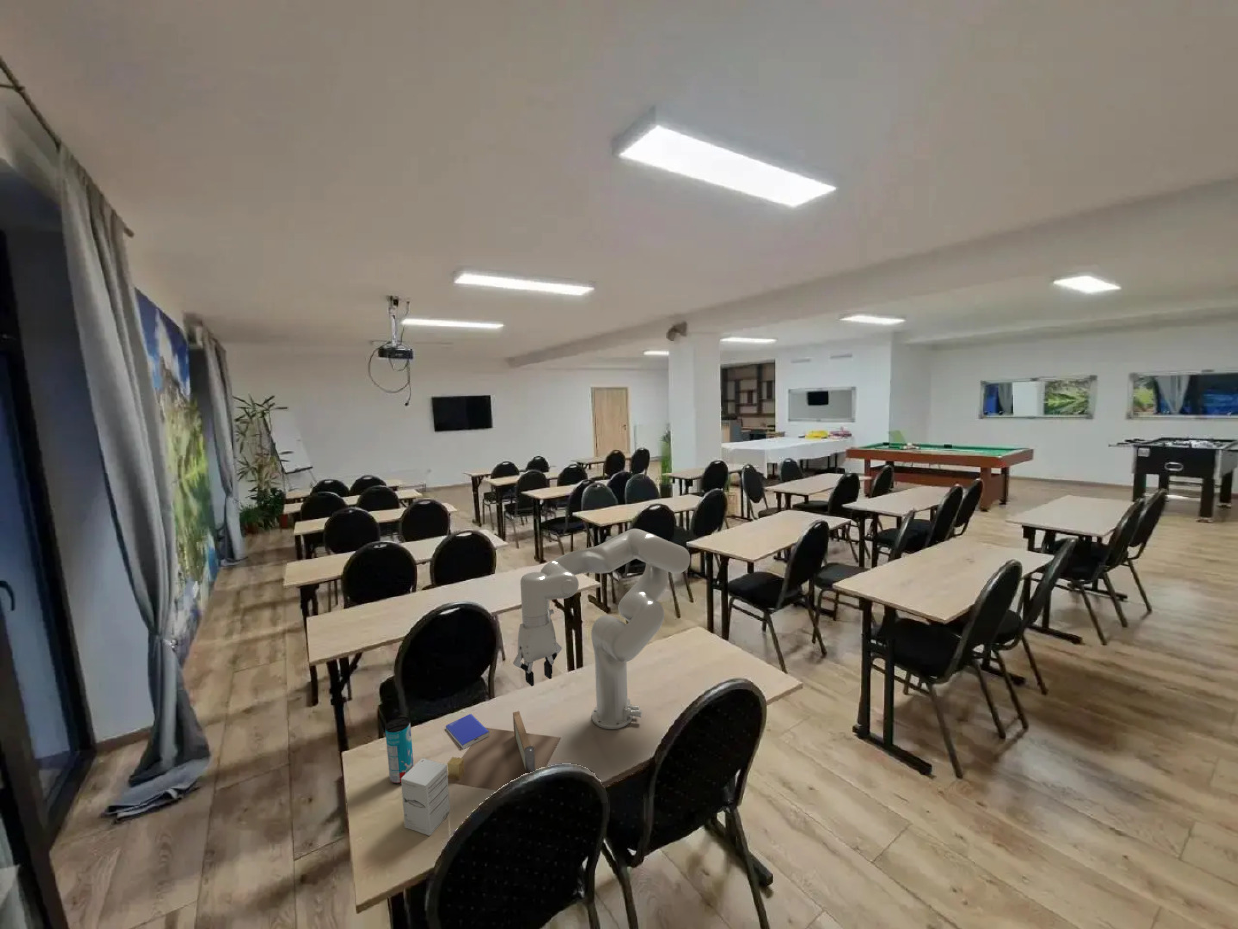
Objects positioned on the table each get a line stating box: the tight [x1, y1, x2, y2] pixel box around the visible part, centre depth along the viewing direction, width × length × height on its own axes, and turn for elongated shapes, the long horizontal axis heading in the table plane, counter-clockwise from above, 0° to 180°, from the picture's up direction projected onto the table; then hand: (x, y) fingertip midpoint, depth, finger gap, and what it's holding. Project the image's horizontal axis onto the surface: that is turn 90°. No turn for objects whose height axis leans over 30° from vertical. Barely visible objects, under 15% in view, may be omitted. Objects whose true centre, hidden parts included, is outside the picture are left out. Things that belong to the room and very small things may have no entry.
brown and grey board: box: [512, 710, 531, 770], centre depth 137 cm, size 18×2×7 cm, turn 22°
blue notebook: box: [445, 713, 490, 750], centre depth 148 cm, size 2×8×12 cm
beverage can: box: [384, 716, 415, 785], centre depth 130 cm, size 6×6×15 cm
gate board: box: [448, 727, 562, 791], centre depth 136 cm, size 24×22×1 cm
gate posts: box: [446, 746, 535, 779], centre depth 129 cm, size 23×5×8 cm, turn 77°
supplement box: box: [400, 757, 451, 836], centre depth 116 cm, size 7×7×13 cm
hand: (539, 679), depth 140 cm, fingers open, 4 cm apart
